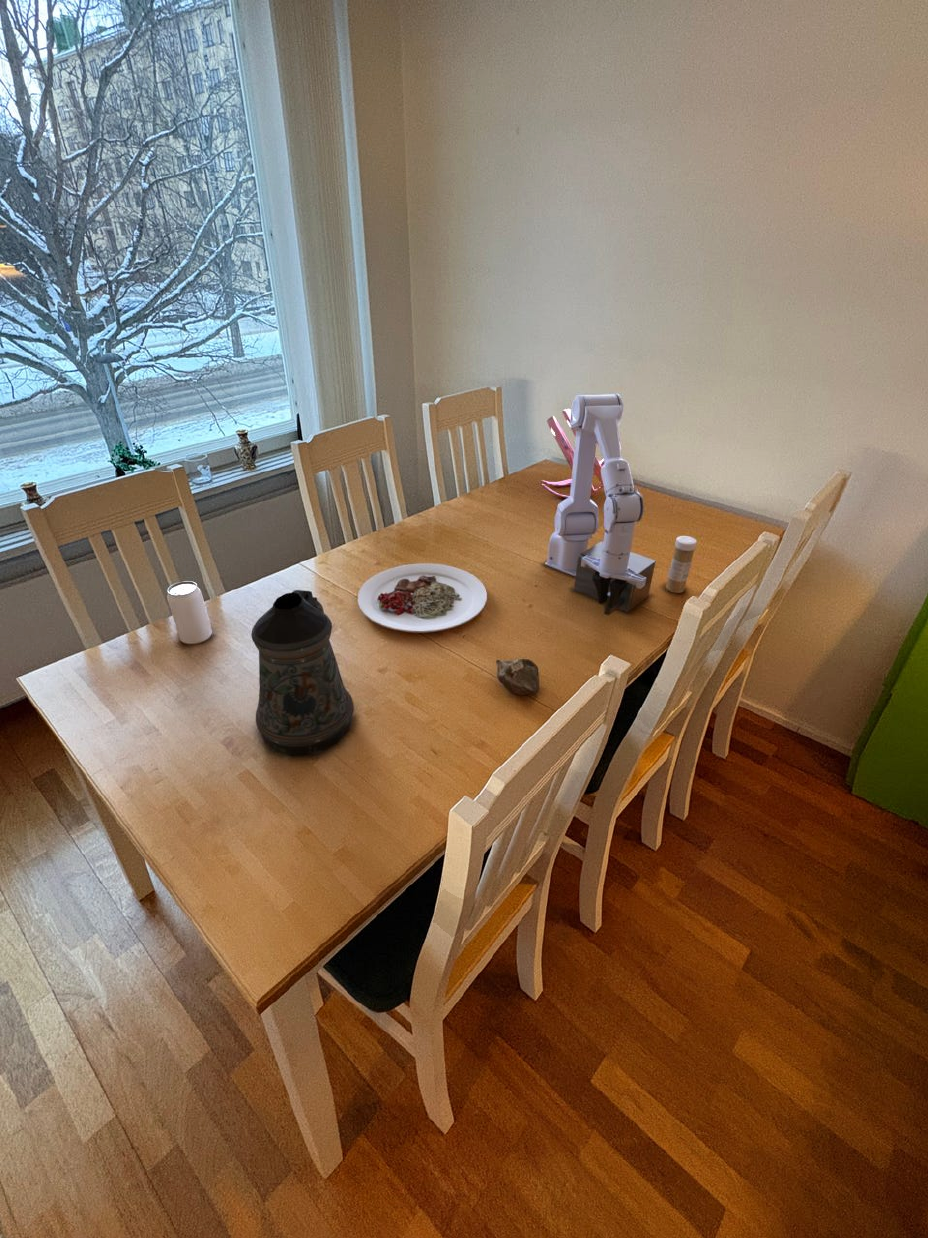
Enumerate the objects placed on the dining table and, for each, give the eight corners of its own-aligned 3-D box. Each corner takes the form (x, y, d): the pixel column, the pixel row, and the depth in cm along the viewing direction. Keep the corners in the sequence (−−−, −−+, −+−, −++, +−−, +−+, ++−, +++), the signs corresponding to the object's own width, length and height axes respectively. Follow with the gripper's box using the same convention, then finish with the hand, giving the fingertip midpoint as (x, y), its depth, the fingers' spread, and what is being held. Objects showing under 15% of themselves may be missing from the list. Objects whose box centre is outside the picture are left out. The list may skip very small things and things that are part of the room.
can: (219, 631, 128) (206, 583, 122) (198, 647, 123) (184, 598, 116) (194, 625, 130) (180, 577, 123) (173, 641, 125) (157, 592, 118)
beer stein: (266, 770, 96) (235, 646, 82) (251, 696, 111) (222, 580, 97) (365, 741, 102) (352, 620, 88) (338, 675, 116) (323, 562, 102)
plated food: (512, 600, 140) (513, 587, 138) (420, 656, 122) (420, 642, 120) (424, 558, 157) (424, 546, 155) (331, 601, 139) (330, 589, 137)
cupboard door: (612, 624, 132) (618, 588, 127) (557, 600, 140) (561, 565, 135) (629, 611, 136) (635, 575, 131) (575, 588, 145) (580, 554, 139)
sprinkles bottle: (676, 583, 148) (688, 533, 140) (688, 592, 144) (701, 542, 136) (661, 586, 146) (672, 536, 139) (672, 595, 143) (684, 545, 135)
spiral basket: (512, 441, 178) (594, 388, 169) (519, 436, 204) (590, 391, 195) (558, 521, 183) (640, 474, 175) (559, 507, 209) (630, 466, 201)
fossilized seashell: (486, 662, 116) (500, 701, 109) (506, 639, 113) (521, 678, 106) (515, 671, 120) (530, 709, 113) (535, 649, 117) (552, 688, 110)
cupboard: (629, 611, 137) (636, 574, 131) (576, 588, 145) (580, 553, 139) (648, 596, 142) (655, 560, 137) (595, 575, 150) (601, 541, 145)
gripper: (576, 544, 125) (569, 599, 133) (638, 567, 117) (627, 624, 125) (594, 534, 129) (586, 587, 137) (655, 555, 121) (643, 610, 129)
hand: (607, 604), depth 131 cm, fingers closed
